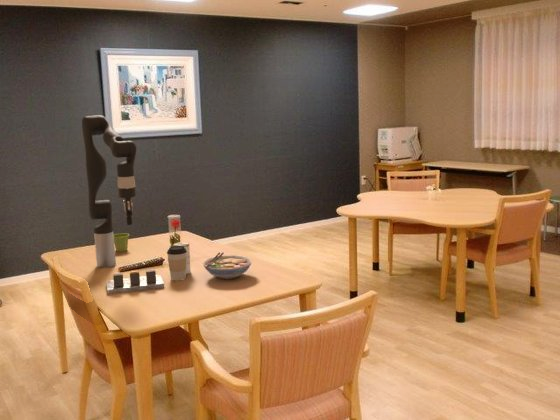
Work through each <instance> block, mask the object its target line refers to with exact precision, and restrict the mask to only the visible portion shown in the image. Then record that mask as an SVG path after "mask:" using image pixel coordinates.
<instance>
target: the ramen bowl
mask: <svg viewBox="0 0 560 420" xmlns="http://www.w3.org/2000/svg"><path fill="white" fill-rule="evenodd" d="M252 263H253V259H252V258H250V257H249V256H244V255H238V254H237V255H235V254H233V255H232V254H230V255H227V254H226V255H224V252H217V254H216V255H215V256H213V257H209V258H207V259H205V260H203V262H202V264H203V267H204V268H205V270H206V271H207V272H208V273H209V274H210V275H212V276H213V277H217V278H220V279H221V280H232V279H231V278H233V279H235V278H237V277H239V276H242V275H244V274H245V273H246V272H247V271H248V270H249V268H250V266H251V265H252Z"/></svg>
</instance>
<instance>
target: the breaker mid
mask: <svg viewBox="0 0 560 420" xmlns="http://www.w3.org/2000/svg"><path fill="white" fill-rule="evenodd" d="M140 277H141V276H140V271H139V270H131V271H130V272H129V278H130V284H131V285H134V284H140Z"/></svg>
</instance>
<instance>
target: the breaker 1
mask: <svg viewBox="0 0 560 420" xmlns="http://www.w3.org/2000/svg"><path fill="white" fill-rule="evenodd" d="M123 274H124V273H122V272H120V273H114V274H112V278H113V279H112V280H114V287H117V286H124V283H123V279H124V275H123Z"/></svg>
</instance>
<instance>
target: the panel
mask: <svg viewBox="0 0 560 420" xmlns="http://www.w3.org/2000/svg"><path fill="white" fill-rule="evenodd" d="M123 283H124V286H117V287H114V280H113V279H110V280H106V292H107V296H109V295H116V294H123V293H133V292H141V291H152V290H156V289H157V290H159V289H164V288H165V283H164V281H163V277H162V276H161V274H156V282H151V283H147V281H146V275H145V276H140V284H134V285H131V284H130V277H128V278H123Z"/></svg>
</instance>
